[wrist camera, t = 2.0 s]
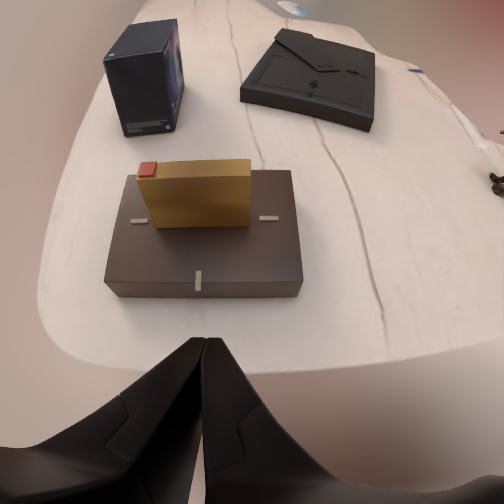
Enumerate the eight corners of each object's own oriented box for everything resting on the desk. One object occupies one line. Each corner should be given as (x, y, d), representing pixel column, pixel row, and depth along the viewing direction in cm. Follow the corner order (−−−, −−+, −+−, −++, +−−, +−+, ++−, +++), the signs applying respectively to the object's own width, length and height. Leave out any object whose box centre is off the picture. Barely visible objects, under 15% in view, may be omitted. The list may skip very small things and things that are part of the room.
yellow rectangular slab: (249, 211, 24) (250, 156, 19) (250, 226, 23) (251, 172, 18) (157, 213, 23) (138, 160, 18) (155, 228, 23) (134, 177, 18)
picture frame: (280, 41, 45) (240, 101, 35) (281, 28, 42) (239, 82, 33) (372, 63, 43) (369, 132, 33) (375, 49, 40) (375, 114, 31)
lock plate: (286, 187, 29) (290, 163, 26) (297, 304, 23) (304, 288, 21) (137, 191, 28) (128, 168, 26) (116, 304, 23) (101, 288, 20)
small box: (178, 132, 32) (163, 49, 23) (123, 138, 32) (98, 61, 23) (187, 84, 37) (179, 15, 28) (140, 89, 37) (126, 24, 28)
